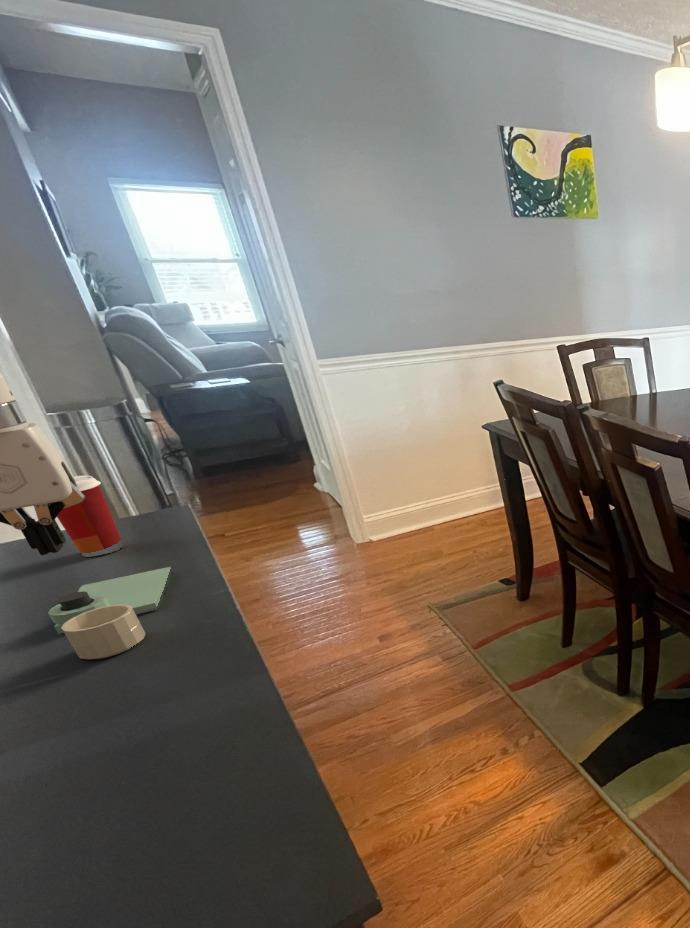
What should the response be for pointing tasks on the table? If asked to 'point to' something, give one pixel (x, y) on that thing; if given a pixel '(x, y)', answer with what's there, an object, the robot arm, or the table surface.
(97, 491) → the paper cup
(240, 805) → the table surface
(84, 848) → the table surface
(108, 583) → the scale
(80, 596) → the button
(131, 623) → the bowl
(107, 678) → the table surface
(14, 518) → the robot arm
